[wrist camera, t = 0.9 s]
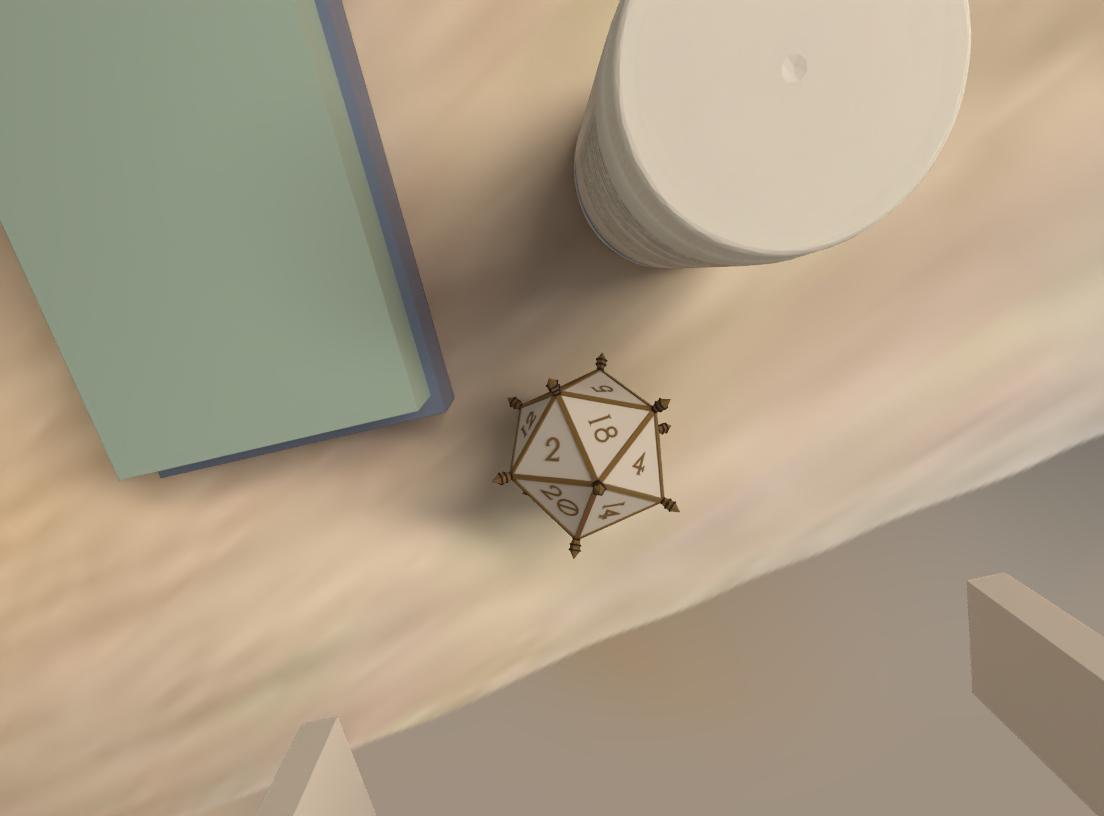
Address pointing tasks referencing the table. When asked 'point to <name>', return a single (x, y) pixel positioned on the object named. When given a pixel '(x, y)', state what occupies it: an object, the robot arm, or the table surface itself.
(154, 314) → the book pile
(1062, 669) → the robot arm
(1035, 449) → the table surface
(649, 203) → the supplement tub
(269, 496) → the table surface
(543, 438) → the game die
